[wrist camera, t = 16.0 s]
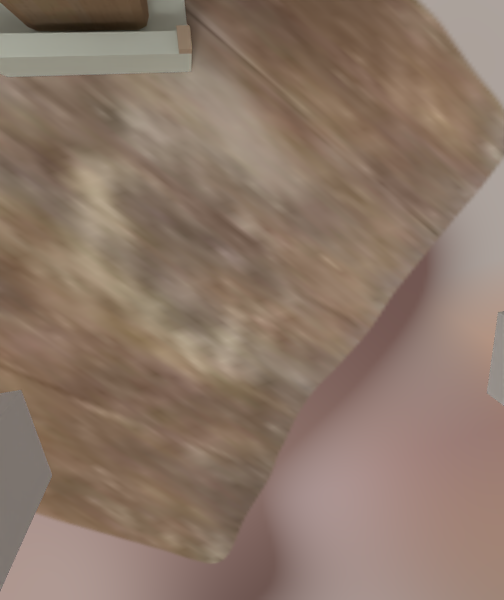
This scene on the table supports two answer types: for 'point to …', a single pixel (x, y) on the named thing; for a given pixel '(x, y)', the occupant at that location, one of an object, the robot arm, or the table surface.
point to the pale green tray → (98, 46)
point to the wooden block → (80, 14)
